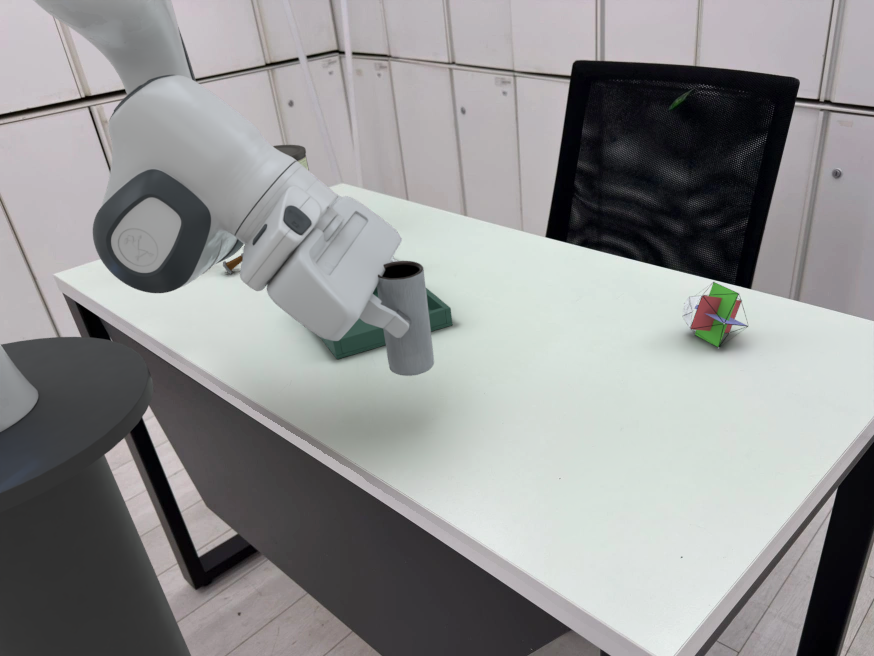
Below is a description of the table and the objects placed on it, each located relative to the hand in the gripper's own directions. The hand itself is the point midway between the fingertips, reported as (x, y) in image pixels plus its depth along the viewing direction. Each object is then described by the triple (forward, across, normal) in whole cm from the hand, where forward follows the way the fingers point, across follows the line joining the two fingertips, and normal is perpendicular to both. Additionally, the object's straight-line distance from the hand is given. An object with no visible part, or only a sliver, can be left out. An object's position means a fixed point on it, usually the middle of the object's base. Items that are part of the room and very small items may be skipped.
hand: (411, 316), depth 72 cm
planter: (+4, 0, -4) cm, 6 cm away
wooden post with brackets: (-16, -44, -34) cm, 58 cm away
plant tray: (+1, -24, -16) cm, 29 cm away
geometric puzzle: (+31, -16, +15) cm, 38 cm away
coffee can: (-16, -60, -33) cm, 70 cm away
